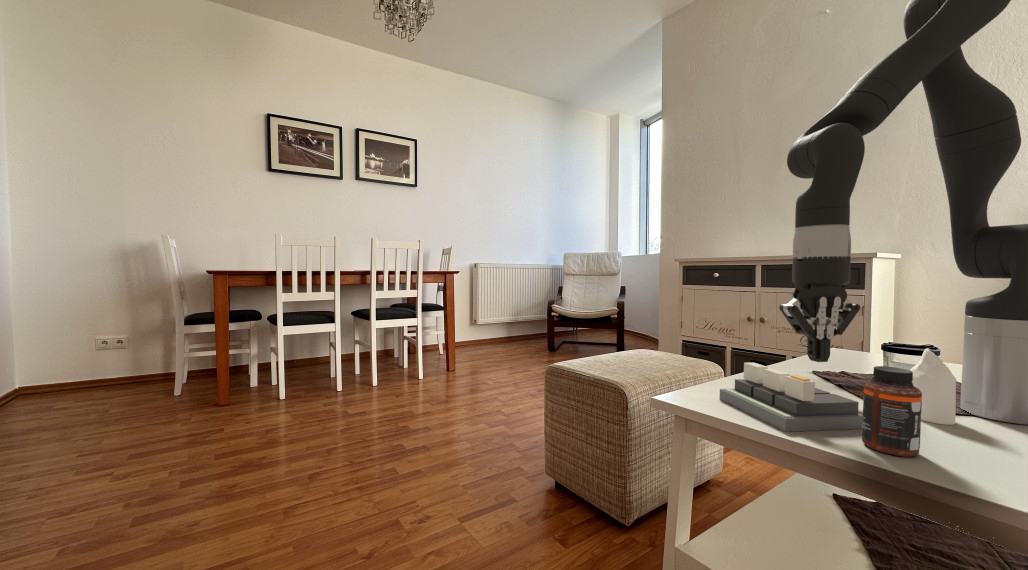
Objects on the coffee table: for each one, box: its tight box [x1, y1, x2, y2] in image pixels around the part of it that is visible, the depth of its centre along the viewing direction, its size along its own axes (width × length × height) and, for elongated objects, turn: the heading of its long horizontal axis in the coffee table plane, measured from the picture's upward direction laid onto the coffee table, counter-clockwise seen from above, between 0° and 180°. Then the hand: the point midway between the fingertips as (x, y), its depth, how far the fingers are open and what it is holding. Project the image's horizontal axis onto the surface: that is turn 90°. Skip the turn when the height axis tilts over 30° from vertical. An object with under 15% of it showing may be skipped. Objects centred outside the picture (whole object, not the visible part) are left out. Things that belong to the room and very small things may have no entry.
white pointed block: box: [909, 347, 957, 426], centre depth 69 cm, size 6×12×6 cm
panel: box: [719, 378, 863, 433], centre depth 71 cm, size 16×16×4 cm
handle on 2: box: [763, 368, 791, 392], centre depth 71 cm, size 2×4×3 cm, turn 7°
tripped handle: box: [785, 374, 816, 401], centre depth 66 cm, size 2×4×3 cm, turn 7°
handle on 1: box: [743, 362, 769, 383], centre depth 76 cm, size 2×4×3 cm, turn 7°
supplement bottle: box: [861, 365, 922, 458], centre depth 56 cm, size 6×6×11 cm
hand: (818, 360), depth 66 cm, fingers closed
